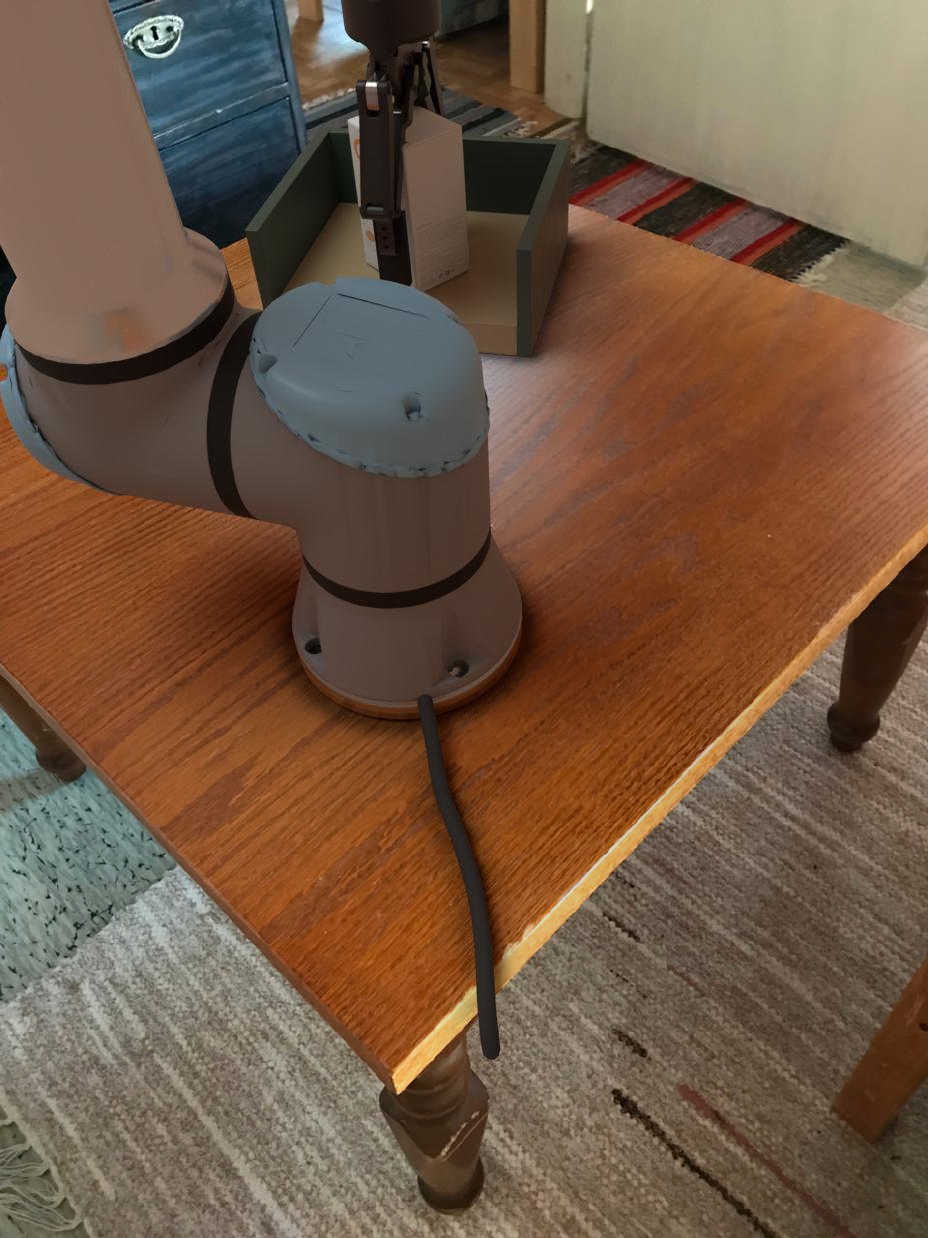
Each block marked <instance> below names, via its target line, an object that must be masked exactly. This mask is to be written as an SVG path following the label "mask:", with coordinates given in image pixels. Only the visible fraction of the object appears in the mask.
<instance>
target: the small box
mask: <svg viewBox="0 0 928 1238" xmlns="http://www.w3.org/2000/svg"><path fill="white" fill-rule="evenodd" d="M394 113H401V112H394ZM462 126H463V125H461V124H459V123H457V122H455V121H453V120H450V119H448V118H447V117H446V118H444V117H442V116H440V115H437V114H435V113H433V112H431V111H429V110H427V109H425V108H423V107H420V106H413V121H412V124H411V126H409V127H408V128H407V129H406V136H405V144H404V146H403V147H402V160H403V182H402V197H401V210H405V212H406V222H407V232H408V242H409V252H410V262H411V273H412V284H411V286H410V287H412V288H414V289H417V290H419V291H421V292H425V291H427V290H429V289H431V288H433V287H435V286H437V285H439V284H441V283H443V282H446V281H448V280H450V279H452V278H454V277H456V276H458V275H460V274H462V273H464V272H466V271H468V270H469V267H470V266H469V249H468V231H467V213H466V195H465V177H464V160H463V141H462V135H463V127H462ZM347 129H349V136H350V144H351V151H352V159H353V167H354V174H355V182H356V189H357V197H358V204H359V206H360V207H361V203H360V146H359V115H357V116H354V117H352V118H348V119H347ZM359 212H360V211H359ZM360 219H361V227H362V234H363V242H364V250H365V258H366V263H368V264H369V265H371V266H373V267H374V268H376V269H377V270H379V268H378V260H377V252H376V245H375V237H374V229H373V221H372V220H369V219H362V218H361V215H360Z"/></svg>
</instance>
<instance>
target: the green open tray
mask: <svg viewBox="0 0 928 1238" xmlns="http://www.w3.org/2000/svg"><path fill="white" fill-rule="evenodd" d="M462 141H463V160H464V177H465V195H466V213H467V231H468V249H469V266H470V267H469V270H468V271H466V272H464V273H462V274H460V275H458V276H456V277H454V278H452V279H450V280H448V281H446V282H443V283H441V284H439V285H437V286H435V287H433V288H431V289H429V290H427V291H425V292H424V293H426V294H428V295H430V296H431V297H433V298H435V299H437V300H438V301H440V302H441V303H443V304H444V305H445V306H447V307H448V308H449V309H450V310H451V311H452V312H454V313H455V314H456V315H457V316H458V317H459V318H460V320H461V322H462V324H463V327H464V328H465V329H467V330H468V331H469V332H470V333H471V334H472V336H473V338H474V340H475V342H476V344H477V347H478V350H479V353H484V354H486V353H487V354H495V355H496V354H497V355H507V356H518V357H527V358H531V357H532V354H533V351H534V348H535V345H536V342H537V337H538V334H539V332H540V329H541V327H542V326H541V325H542V323H543V320H544V316H545V313H546V310H547V307H548V304H549V301H550V298H551V295H552V292H553V289H554V285H555V282H556V279H557V275H558V272H559V270H560V266H561V263H562V260H563V256H564V254H565V250H566V248H567V245H568V241H569V214H570V213H569V209H570V208H569V206H570V178H571V176H570V175H571V149H572V148H571V147H572V140H571V139H557V138H556V139H555V138H537V137H533V138H532V137H518V136H499V135H479V134H462ZM244 231H245V236H246V237H245V238H246V240H247V241H246V242H247V245H248V248H249V254H250V258H251V262H252V266H253V271H254V275H255V281H256V284H257V289H258V293H259V296H260V300H261V305H262V310H265V309H266V308H267V307H268V306H269V305H270V304H271V303H272V302H273V301H274V300H276V299H277V298H279V297H281V296H282V295H283V294H285V293H286V292H289V291H291V290H293V289H295V288H297V287H300V286H303V285H306V284H309V283H313V282H317V281H318V282H319V283H321V284H323V285H329V286H332V285H334V282H335V280H336V278H343V277H360V278H374V279H380V276H379V270H377V269H376V268H374V267H373V266H371V265H369V264H368V263H366V258H365V250H364V242H363V234H362V227H361V219H360V212H359V204H358V197H357V189H356V182H355V174H354V167H353V159H352V151H351V144H350V136H349V129H348V128H346V127H345V128H344V127H343V128H342V127H322V126H321V127H319V128H318V130H317V131H316V133H315V134H314V135H313V136H312V138H311V139H310V141H309V142H308V144H307V145H305V148H304V149H303V150H302V152H301V153H300V154H299V156H298V157H297V159H296V160H295V161H294V162H293V164H292V165H291V166H290V168H289V169H288V171H287V172H286V173H285V175H284V176H283V177H282V179H281V180H280V182H279V183H278V184H277V185H276V187H275V188H274V190H273V191H272V193H270V195H269V197H268V198H267V199H266V201H265V202H264V203H263V205H262V206H261V207H260V209H259V210H258V211H257V213H256V214H255V215H254V217H253V218H252V220H251V221H250V222H249V224H248V225H247V226H246V228H245V230H244Z"/></svg>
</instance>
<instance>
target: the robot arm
mask: <svg viewBox="0 0 928 1238" xmlns="http://www.w3.org/2000/svg"><path fill="white" fill-rule="evenodd" d="M109 1H110V0H0V247H1V249H2V250H3V253H4V255H5V257H6V259H7V260H8V261H7V262H8V263H9V264H10V267H11V269H12V271H13V273H14V274H15V276H16V279H15V280H14V282H13V284H12V286H11V288H10V290H9V293H8V295H7V296H6V297H7V298H6V301H5V304H4V316H5V322H6V324H5V326H4V328H3V330H2V333H1V337H0V366H2V367H3V368H4V370H5V371H6V377H5V379H4V380H1V381H0V398H1V402H2V405H3V409H4V411H5V415H6V417H7V419H8V422H9V424H10V426H11V428H12V430H13V432H14V434H15V435H16V437H17V438H18V440H19V442H20V443H21V444H22V446H23V447H24V448H25V449H26V450H27V452H28V453H29V454H30V455H31V456H32V458H33V459H35V460H36V461H37V462H38V463H39V464H40V465H41V466H43V467H44V468H46V469H47V470H48V471H50V472H52V473H54V474H55V475H57V476H58V477H60V478H63V479H66V480H68V481H71V482H75V483H77V484H78V483H79V484H83V485H85V486H87V487H90V488H92V489H93V490H96V491H97V490H98V491H100V492H102V493H105V494H110V495H113V496H118V497H122V496H128V497H134V498H139V499H145V500H151V501H156V502H162V503H167V504H170V505H171V504H172V505H176V506H181V507H186V508H187V507H188V508H191V509H192V508H193V509H198V510H203V511H209V512H214V513H219V514H224V515H229V516H235V517H240V518H245V519H251V520H255V521H260V522H265V523H270V524H275V525H280V526H285V527H288V528H290V529H292V530H294V531H295V534H296V537H297V541H298V544H299V547H300V548H299V549H300V552H301V556H302V565H301V568H300V575H299V579H298V583H297V589H296V595H295V600H294V605H293V609H292V616H291V617H292V618H291V628H292V636H293V641H294V643H295V647H296V651H297V655H298V658H299V661H300V663H301V666H302V669H303V670H304V672H305V674H306V676H307V677H308V678H309V680H310V681H311V683H312V684H313V685H314V686H315V687H316V688H317V689H318V690H319V691H320V692H321V694H323V695H324V696H326V697H327V698H328V699H330V700H331V701H333V702H334V703H335V704H338V705H340V706H341V707H343V708H345V709H347V710H350V711H352V712H355V713H358V714H361V715H365V716H369V717H374V718H379V719H386V720H413V719H414V720H415V719H420V724H421V730H422V736H423V740H424V741H423V742H424V746H425V752H426V758H427V766H428V771H429V777H430V781H431V786H432V790H433V795H434V798H435V801H436V804H437V807H438V810H439V812H440V815H441V818H442V820H443V823H444V825H445V828H446V830H447V833H448V835H449V839H450V842H451V844H452V847H453V850H454V853H455V856H456V860H457V863H458V867H459V870H460V873H461V874H460V875H461V877H462V880H463V884H464V888H465V892H466V896H467V902H468V907H469V913H470V919H471V927H472V934H473V935H472V937H473V945H474V966H475V991H476V1008H477V1019H478V1020H477V1021H478V1030H479V1031H478V1032H479V1040H480V1047H481V1052H482V1056H483V1057H485V1058H486V1059H487V1060H488V1061H489V1060H490V1061H495V1060H496V1059H497V1058H498V1057H500V1053H501V1050H502V1049H501V1048H502V1047H501V1041H500V1033H499V1024H498V1023H499V1022H498V1015H497V1014H498V1011H497V999H496V998H497V997H496V982H495V981H496V980H495V963H494V947H493V946H494V945H493V936H492V927H491V920H490V914H489V909H488V904H487V898H486V893H485V889H484V884H483V880H482V877H481V873H480V871H479V867H478V865H477V864H478V863H477V861H476V857H475V854H474V850H473V848H472V845H471V842H470V840H469V836H468V833H467V831H466V828H465V826H464V824H463V823H464V822H463V821H462V817H461V816H460V814H459V811H458V809H457V806H456V803H455V800H454V798H453V794H452V792H451V791H452V790H451V788H450V785H449V780H448V776H447V770H446V766H445V759H444V754H443V753H444V752H443V747H442V741H441V737H440V730H439V726H438V720H437V716H438V715H441V714H444V713H448V712H450V711H453V710H456V709H458V708H460V707H463V706H465V705H467V704H469V703H471V702H472V701H475V699H477V698H479V697H480V696H482V695H483V694H485V693H486V692H487V691H488V690H490V689H491V688H493V686H494V685H495V684H496V683H497V682H498V681H499V680H501V678H502V677H504V675H505V673H507V671H508V669H509V668H510V666H511V664H512V663H513V662H514V660H515V657H516V655H517V653H518V650H519V647H520V644H521V640H522V634H523V605H522V604H523V603H522V596H521V591H520V589H519V585H518V583H517V581H516V579H515V577H514V575H513V573H512V571H511V569H510V567H509V566H508V563H507V562H506V559H505V557H504V555H503V554H502V551H501V550H500V548H499V546H498V544H497V541H496V540H495V538H494V536H493V534H492V524H491V523H492V522H491V521H492V520H491V519H492V516H491V487H490V485H491V484H490V459H489V458H490V456H489V455H490V454H489V433H490V428H491V421H490V415H491V408H490V407H489V396H488V394H487V390H486V387H485V381H484V372H483V363H482V357H481V352H479V350H478V347H477V344H476V342H475V340H474V338H473V336H472V334H471V333H470V332H469V331H468V330H467V329H465V328H464V327H463V324H462V322H461V320H460V318H459V317H458V316H457V315H456V314H455V313H454V312H452V311H451V310H450V309H449V308H448V307H447V306H445V305H444V304H443V303H441V302H440V301H438V300H437V299H435V298H433V297H431V296H430V295H428V294H426V293H424V292H421V291H419V290H417V289H414V288H412V287H410V286H411V284H412V273H411V262H410V252H409V242H408V232H407V222H406V212H405V210H401V197H402V182H403V160H402V147H403V146H404V144H405V136H406V129H407V128H408V127H409V126H411V124H412V121H413V106H420V107H423V108H425V109H427V110H429V111H431V112H433V113H435V114H437V115H440V116H442V117H444V118H446V119H447V116H446V111H445V110H446V109H445V104H444V99H443V94H442V93H443V92H442V87H441V82H440V81H441V80H440V75H439V70H438V64H437V58H436V53H435V47H434V35H435V34H436V33H437V32H438V31H439V30H440V28H441V25H442V7H441V6H442V5H441V4H442V3H441V0H340V5H341V13H342V21H343V26H344V31H345V34H346V35H347V36H348V38H350V39H351V40H352V41H353V42H354V43H358V44H359V43H360V44H361V45H363V46H364V47H365V48H366V49H367V50H368V53H369V55H368V63H367V65H366V74H365V79H357V80H356V82H355V94H356V102H357V111H358V116H359V146H360V203H361V207H360V206H359V211H360V215H361V218H362V219H369V220H372V221H373V229H374V237H375V245H376V252H377V260H378V268H379V276H380V279H374V278H360V277H343V278H336V280H335V282H334V285H332V286H329V285H323V284H321V283H319V282H318V281H317V282H313V283H309V284H306V285H303V286H300V287H297V288H295V289H293V290H291V291H289V292H286V293H285V294H283V295H282V296H281V297H279V298H277V299H276V300H274V301H273V302H272V303H271V304H270V305H269V306H268V307H267V308H266V309H265V310H263V309H259V308H252V307H246V306H243V305H241V304H240V302H239V301H238V299H237V296H236V292H235V288H234V286H233V283H232V281H231V277H230V273H229V270H228V265H227V263H226V260H225V258H224V255H223V253H222V252H221V250H220V249H219V247H218V246H217V245H216V244H215V243H214V242H213V241H212V240H210V239H209V238H207V237H206V236H205V235H203V234H202V233H199V232H197V231H196V230H195V231H194V230H192V229H190V228H187V227H185V226H184V225H183V222H182V219H181V218H182V217H181V215H180V212H179V209H178V206H177V203H176V200H175V197H174V194H173V190H172V188H171V185H170V182H169V179H168V176H167V173H166V170H165V167H164V164H163V160H162V158H161V155H160V152H159V150H158V149H159V148H158V146H157V143H156V140H155V137H154V133H153V130H152V128H151V124H150V122H149V119H148V116H147V113H146V110H145V107H144V103H143V101H142V97H141V95H140V92H139V89H138V86H137V83H136V80H135V79H136V78H135V77H134V76H135V75H134V74H133V71H132V67H131V65H130V62H129V59H128V55H127V51H126V49H125V46H124V42H123V40H122V37H121V34H120V31H119V28H118V24H117V22H116V20H115V16H114V14H113V10H112V7H111V4H110V2H109ZM394 112H401V113H394Z"/></svg>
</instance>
